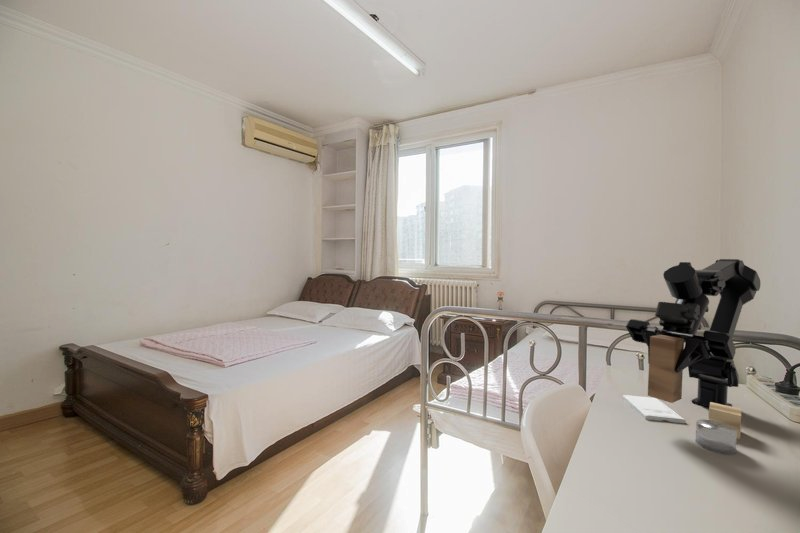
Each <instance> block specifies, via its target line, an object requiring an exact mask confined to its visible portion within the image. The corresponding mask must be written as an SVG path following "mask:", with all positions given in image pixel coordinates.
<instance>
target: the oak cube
mask: <svg viewBox="0 0 800 533" xmlns="http://www.w3.org/2000/svg"><path fill="white" fill-rule="evenodd" d="M708 420H711V421H715V422H719V423H723V424H725V425H728V426H730V427H732V428H734V429H735V430H736V431H737V440H741V431H742V408H739V407H735V406H732V407H731V406H726V405H722V404H717V403H713V402H710V406H709V407H708Z"/></svg>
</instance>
